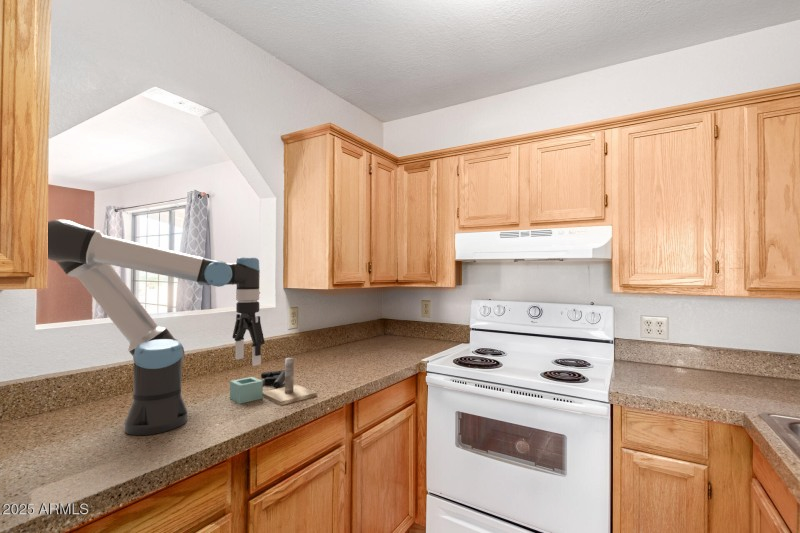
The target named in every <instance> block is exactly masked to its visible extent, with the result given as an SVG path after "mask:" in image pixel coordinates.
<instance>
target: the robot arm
mask: <svg viewBox="0 0 800 533" xmlns="http://www.w3.org/2000/svg"><path fill="white" fill-rule="evenodd" d="M47 222H48V259H47V260H50V261H52V262H56V263H57V264H58V266H59V267H60V268H61V270H62V271H63V272H64V273H65V275H66V276H68V277H72V278H77V279H78V281H79V282H80V283H81V284H82V285H83V287H84V288H85V289H86V291H87V292H88V293H89V294H90V295H91V297H92V298H93V299H94V300H95V302H96V303H97V304H98V305H99V306H100V308H101V310H103V312H105V314H106V315H107V317H108V318H109V319H110V320H111V322H112V323H113V324H114V325H115V326H116V328H117V329H118V330H119V332H121V334H122V335H123V336H124V337H125V339H126V340H127V341H128V342H129V347H128V352H129V354H131V356H132V359H133V384H132V385H133V390H132V393H133V394H132V402H131V405H130V407H129V410H128V412H127V416H126V418H125V420H124V433H126V434H127V435H131V436H148V435H157V434H161V433H166V432H169V431H173V430H174V429H178V428H179V427H182V426H183V425H184V424H186V423H187V422H188V410H187V407H186V404H185V401H184V398H183V395H182V379H183V378H182V376H183V375H182V373H183V372H182V371H183V362H184V360H185V350H184V346H183V344H182V343H181V342H180V340H178V339H176V338H175V337H174V336H173V335H172V333H171V332H170V331H169V330H168V329H167V327H165V326H159V325H157V323H156V321H155V320H154V319H153V318H152V316H151V315H150V314H149V313H148V311H147V310H146V309H145V307H144V306H143V305H142V303H141V302H140V301H139V300H138V298H137V297H136V296H135V295H134V293H133V292H132V290H130V288H129V286H127V284H126V283H125V282H124V280H123V279H122V278H121V276H120V275H119V274H118V272H117V271H116V270H115V269H114V266H115V267H118V268H119V267H120V268H126V269H130V270H135V271H140V272H146V273H150V274H155V275H161V276H166V277H170V278H175V279H182V280H186V281H192V282H195V283H197V284H198V285H200V286H213V287H224V286H227V285H229V286H230V285H232V286H233V285H234V286H236V292H235V293H236V295H235V297H236V298H235V300H236V301H237V302H236V309H235V310H236V313H237V314H236V315H235V317H236V318H235V323H234V329H233V334H232V339H234V341H235V345H234V346H235V354H234V355H235V357H234V358H235V360H241V359H243V360H244V358H245V353H244V352H245V346H244V345H245V341H244V340H245V338H244V337H245V334H246V331H248V332H249V335H250V336H249V337H250V338H251V341H252V345H251V351H252V352H251V355H252V356H251V358H252V361H251V364H252V367H254V366H255V367H256V366H260V365H262V345H265V344H266V343H265V337H264V332H263V327H262V324H261V316H260V315H257V316H256V314H257V313H260V302H259V300H260V294H261V292H260V273H261V272H260V271H261V270H260V260H259V259H258V258H257V257H251V256H249V257H244V256H243V257H237V258H236V260H235V262H231V263H230V262H225V261H222V260H213V259H210V258H204V257H202V256H197V255H191V254H188V253H183V252H179V251H175V250H170V249H167V248H166V249H165V248H161V247H157V246H153V245H149V244H145V243H144V244H143V243H139V242H135V241H131V240H127V239H123V238H117V237H113V236H110V235H109V236H108V235H105V234H103V232H102V231H101V230H99V229H95V228H90V227H88V226H87V225H83V224H79V223H77V222H76V221H72V220H68V219H51V220H49V221H47Z"/></svg>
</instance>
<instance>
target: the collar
mask: <svg viewBox="0 0 800 533" xmlns="http://www.w3.org/2000/svg"><path fill="white" fill-rule="evenodd" d="M261 380H262V379H259V378H256V377H254V376H249V377H244V378H239V379H233V380H230V381H229V399H230V400H232V401H234V402H235V403H237V404H239V405H241V404H245V403H249V402H252V401H253V402H254V401H257V400H261V399H263V396H262V394H263V392H264V390H263V388H264V385H263V381H261Z"/></svg>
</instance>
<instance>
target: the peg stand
mask: <svg viewBox="0 0 800 533" xmlns="http://www.w3.org/2000/svg"><path fill="white" fill-rule="evenodd" d="M284 361H285V362H284V369H285V383H284V386H283V387H280V388H277V389H276V388H274V389H271V390H266V391H263V394H262V398H264V399H266V400H269V401H271V402H273V403H275V404H277V405H279V406H284V405H288V404H291V403H295V402H298V401H302V400H306V399H309V398H314V397H317V396H318V392H316V391H314V390H312V389H308V388H307V387H304V386H301V385H298V384H295V383H294V379H295V377H294V376H295V374H294V373H295V372H294V371H295V370H294V369H295V358H294V357H286V358H284Z"/></svg>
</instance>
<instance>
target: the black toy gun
mask: <svg viewBox="0 0 800 533" xmlns="http://www.w3.org/2000/svg"><path fill="white" fill-rule="evenodd" d="M260 377H261V379H260V380H261V381H263V386H273V388H274V389H278V388H282V385H285V368H284V369H283V370H274V371H272V370H270V371H263V372H262V373H261V374H260Z"/></svg>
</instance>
